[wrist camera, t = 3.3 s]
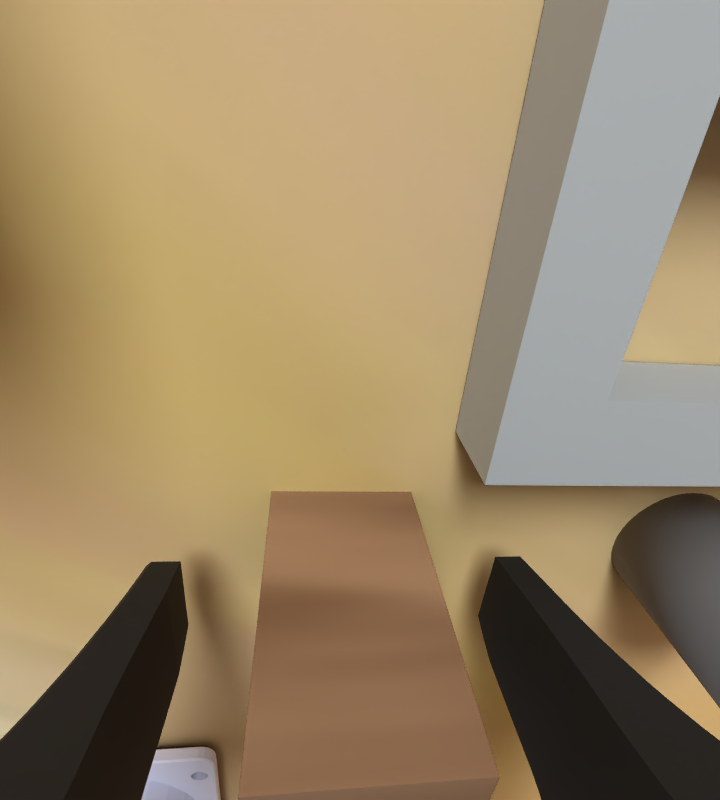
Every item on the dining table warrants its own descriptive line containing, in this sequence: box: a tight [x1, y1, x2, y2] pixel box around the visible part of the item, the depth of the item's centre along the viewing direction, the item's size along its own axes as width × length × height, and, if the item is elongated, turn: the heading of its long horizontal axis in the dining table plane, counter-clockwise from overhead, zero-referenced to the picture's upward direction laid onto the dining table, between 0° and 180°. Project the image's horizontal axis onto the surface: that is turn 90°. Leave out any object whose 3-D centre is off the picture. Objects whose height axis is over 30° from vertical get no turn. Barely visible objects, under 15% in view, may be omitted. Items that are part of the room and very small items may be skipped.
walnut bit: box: [238, 491, 500, 800], centre depth 9 cm, size 3×3×6 cm
